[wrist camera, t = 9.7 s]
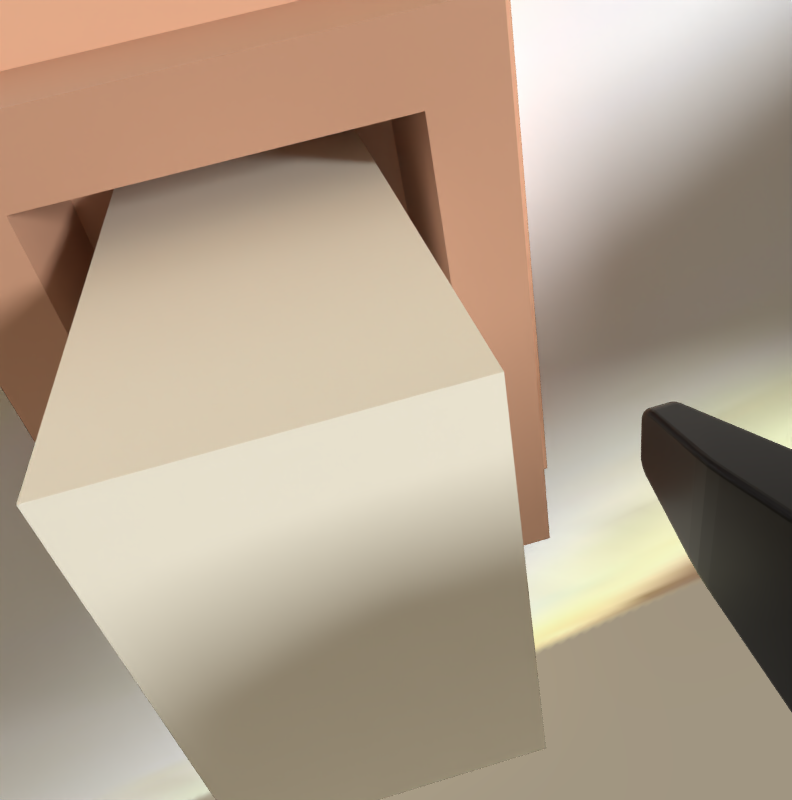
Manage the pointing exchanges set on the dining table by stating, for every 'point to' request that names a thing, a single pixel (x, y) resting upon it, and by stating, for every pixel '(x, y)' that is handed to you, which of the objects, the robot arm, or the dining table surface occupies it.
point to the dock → (260, 131)
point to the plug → (291, 483)
